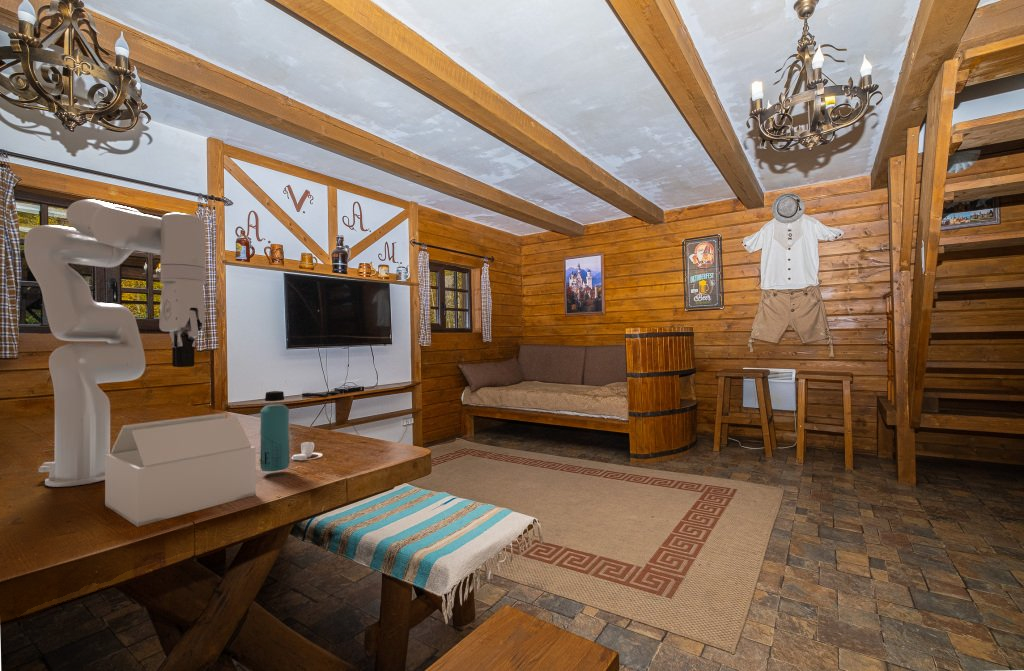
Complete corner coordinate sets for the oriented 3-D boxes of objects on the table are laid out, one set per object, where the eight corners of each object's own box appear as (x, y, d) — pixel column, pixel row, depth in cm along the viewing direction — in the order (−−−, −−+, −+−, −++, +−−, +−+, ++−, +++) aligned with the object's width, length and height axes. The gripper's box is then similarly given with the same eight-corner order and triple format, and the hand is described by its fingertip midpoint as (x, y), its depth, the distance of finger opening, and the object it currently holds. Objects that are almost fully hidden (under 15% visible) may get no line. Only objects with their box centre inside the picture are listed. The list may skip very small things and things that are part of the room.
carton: (137, 526, 81) (137, 469, 81) (105, 505, 91) (105, 454, 91) (255, 494, 97) (255, 446, 97) (216, 479, 108) (216, 436, 108)
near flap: (144, 467, 82) (145, 465, 82) (132, 432, 86) (132, 430, 85) (250, 447, 97) (251, 445, 96) (235, 418, 100) (236, 416, 100)
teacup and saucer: (298, 464, 123) (298, 448, 123) (282, 459, 128) (282, 444, 128) (328, 457, 130) (328, 442, 130) (313, 453, 135) (313, 438, 135)
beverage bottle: (295, 470, 115) (295, 389, 115) (279, 478, 109) (279, 393, 109) (270, 469, 116) (270, 389, 116) (253, 477, 109) (253, 392, 109)
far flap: (123, 428, 88) (123, 425, 88) (111, 453, 92) (111, 450, 92) (225, 415, 103) (225, 412, 103) (212, 437, 107) (211, 435, 107)
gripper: (147, 277, 96) (147, 366, 96) (177, 270, 87) (177, 369, 87) (189, 280, 102) (188, 364, 102) (220, 275, 93) (220, 367, 93)
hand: (183, 366), depth 94 cm, fingers closed
